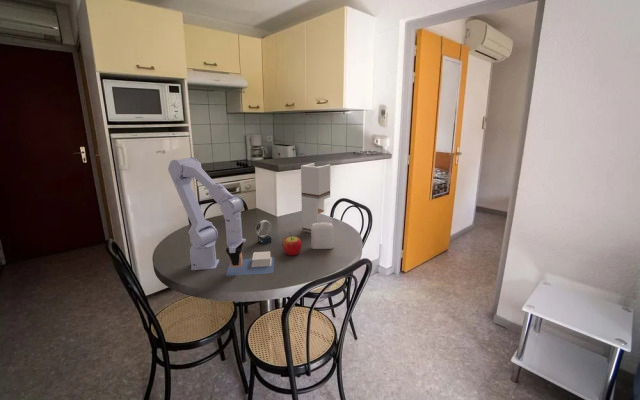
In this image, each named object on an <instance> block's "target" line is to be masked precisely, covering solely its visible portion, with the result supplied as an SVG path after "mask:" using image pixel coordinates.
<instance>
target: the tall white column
mask: <svg viewBox="0 0 640 400" xmlns="http://www.w3.org/2000/svg"><path fill="white" fill-rule="evenodd" d="M300 186H301V187H300V188H301V190H300V193H301V230H302V231H301V232H306V233H309V234H311V227H312V224H314V223H319V214H321V213H324V212H325V199H326V200H327V199H328V198H331V164H326V165H321V166H315V162H313V163H312V162H311V163H308V164H303V165H300Z"/></svg>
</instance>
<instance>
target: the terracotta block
mask: <svg viewBox="0 0 640 400" xmlns="http://www.w3.org/2000/svg"><path fill="white" fill-rule="evenodd" d="M242 259H243V252H241V253H240V257H239V265H236V266H233V265H232V262H231V259H230V258H229V265H230V266H231V267H241V266H242V263H243V260H242Z"/></svg>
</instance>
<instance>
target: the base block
mask: <svg viewBox="0 0 640 400" xmlns="http://www.w3.org/2000/svg"><path fill="white" fill-rule="evenodd" d="M271 254H272V253H271V250H270V251H254V252H253V254H252V258H251V259H252V265H253V266H267V265H270V261H271V257H272V255H271Z"/></svg>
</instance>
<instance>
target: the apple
mask: <svg viewBox="0 0 640 400" xmlns="http://www.w3.org/2000/svg"><path fill="white" fill-rule="evenodd" d="M288 233H289V235H290V236H287V237H285V238H284V239H283V241H282V248H283V251H284V253H285V254H287V255H288V256H296V255H298V254H299V253H300V252H301V250H302V243H303V242H302V240H301V239H300V237H297V236H292V234H291V232H288Z"/></svg>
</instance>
